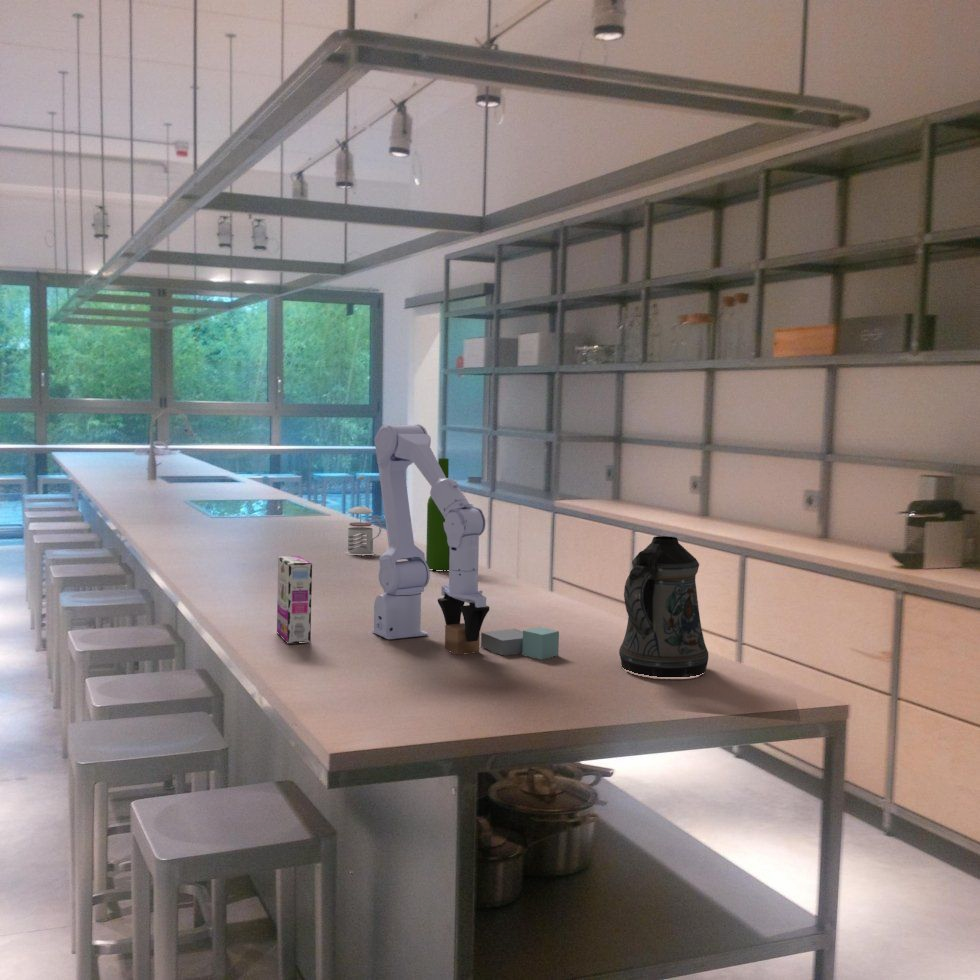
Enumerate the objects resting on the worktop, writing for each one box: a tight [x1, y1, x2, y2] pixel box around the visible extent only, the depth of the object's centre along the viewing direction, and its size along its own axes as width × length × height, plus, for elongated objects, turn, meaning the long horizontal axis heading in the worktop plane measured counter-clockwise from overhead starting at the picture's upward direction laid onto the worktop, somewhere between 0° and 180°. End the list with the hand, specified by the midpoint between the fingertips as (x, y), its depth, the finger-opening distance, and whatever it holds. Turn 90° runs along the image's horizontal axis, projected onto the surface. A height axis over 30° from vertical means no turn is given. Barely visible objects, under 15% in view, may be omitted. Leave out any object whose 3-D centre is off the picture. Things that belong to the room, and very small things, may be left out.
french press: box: [345, 475, 383, 554], centre depth 330 cm, size 10×12×25 cm
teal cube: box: [521, 626, 560, 660], centre depth 203 cm, size 5×5×5 cm
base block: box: [480, 628, 523, 656], centre depth 208 cm, size 8×8×3 cm
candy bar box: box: [276, 555, 313, 643], centre depth 212 cm, size 11×5×16 cm, turn 23°
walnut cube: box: [444, 622, 481, 655], centre depth 206 cm, size 5×5×5 cm
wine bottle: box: [425, 457, 450, 570], centre depth 304 cm, size 9×9×32 cm
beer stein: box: [618, 535, 709, 677], centre depth 193 cm, size 16×19×25 cm
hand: (462, 637), depth 206 cm, fingers open, 7 cm apart
